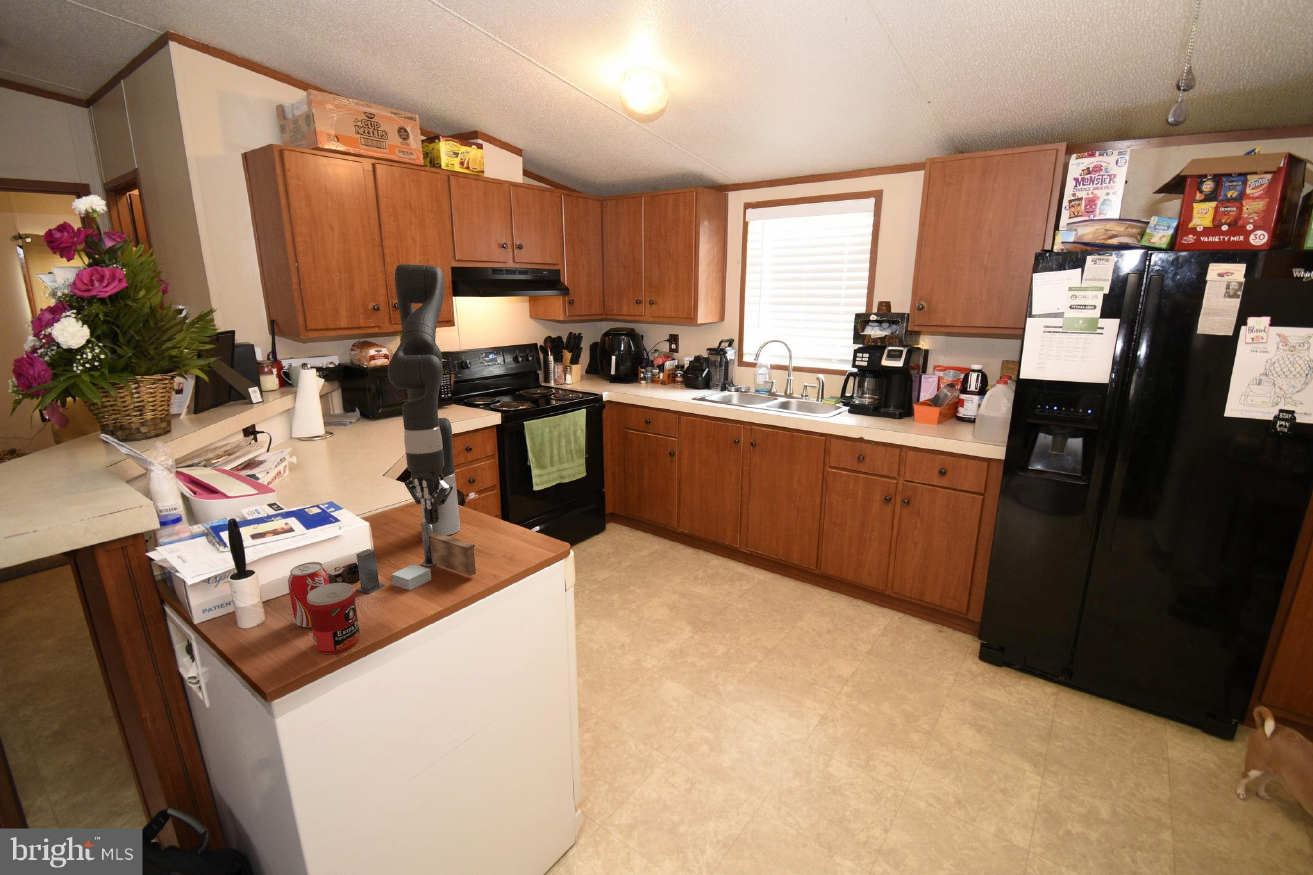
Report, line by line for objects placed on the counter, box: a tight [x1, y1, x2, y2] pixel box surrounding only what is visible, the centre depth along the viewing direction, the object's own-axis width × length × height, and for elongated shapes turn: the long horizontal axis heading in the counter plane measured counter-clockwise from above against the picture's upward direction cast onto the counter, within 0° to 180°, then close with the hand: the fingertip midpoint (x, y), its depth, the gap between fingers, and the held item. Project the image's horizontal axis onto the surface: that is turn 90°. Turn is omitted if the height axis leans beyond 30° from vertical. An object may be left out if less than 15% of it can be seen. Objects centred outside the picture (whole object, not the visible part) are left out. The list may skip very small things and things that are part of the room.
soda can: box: [287, 561, 330, 628], centre depth 116 cm, size 7×7×12 cm
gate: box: [428, 533, 477, 577], centre depth 138 cm, size 14×2×7 cm, turn 58°
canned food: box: [307, 582, 361, 655], centre depth 109 cm, size 8×8×11 cm
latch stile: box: [355, 548, 385, 595], centre depth 130 cm, size 4×4×9 cm
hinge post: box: [420, 521, 438, 568], centre depth 142 cm, size 4×4×11 cm
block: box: [391, 563, 432, 591], centre depth 134 cm, size 6×6×3 cm
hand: (432, 522), depth 126 cm, fingers closed
